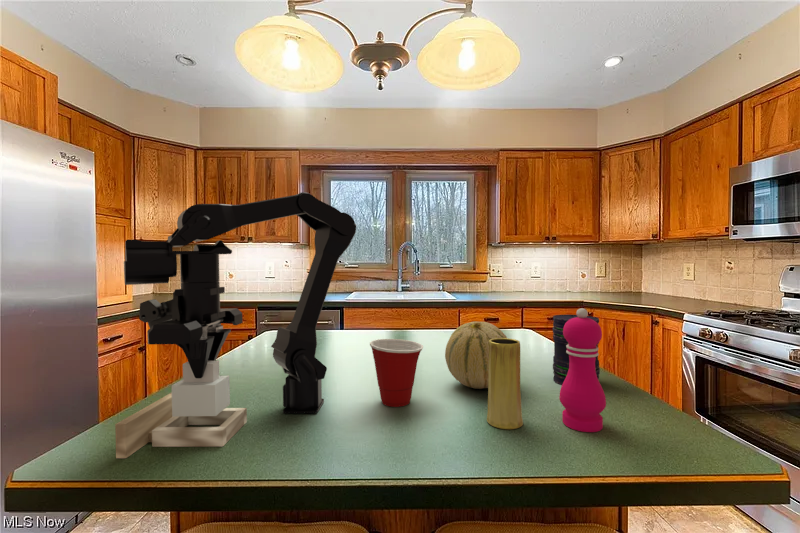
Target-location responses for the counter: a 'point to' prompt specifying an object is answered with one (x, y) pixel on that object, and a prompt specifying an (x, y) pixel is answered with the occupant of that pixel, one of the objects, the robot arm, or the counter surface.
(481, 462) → the counter surface
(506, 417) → the vase
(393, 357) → the plastic cup
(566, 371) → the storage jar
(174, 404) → the grey stepped block
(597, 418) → the pepper mill
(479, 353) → the cantaloupe
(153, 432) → the stand
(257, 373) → the counter surface
